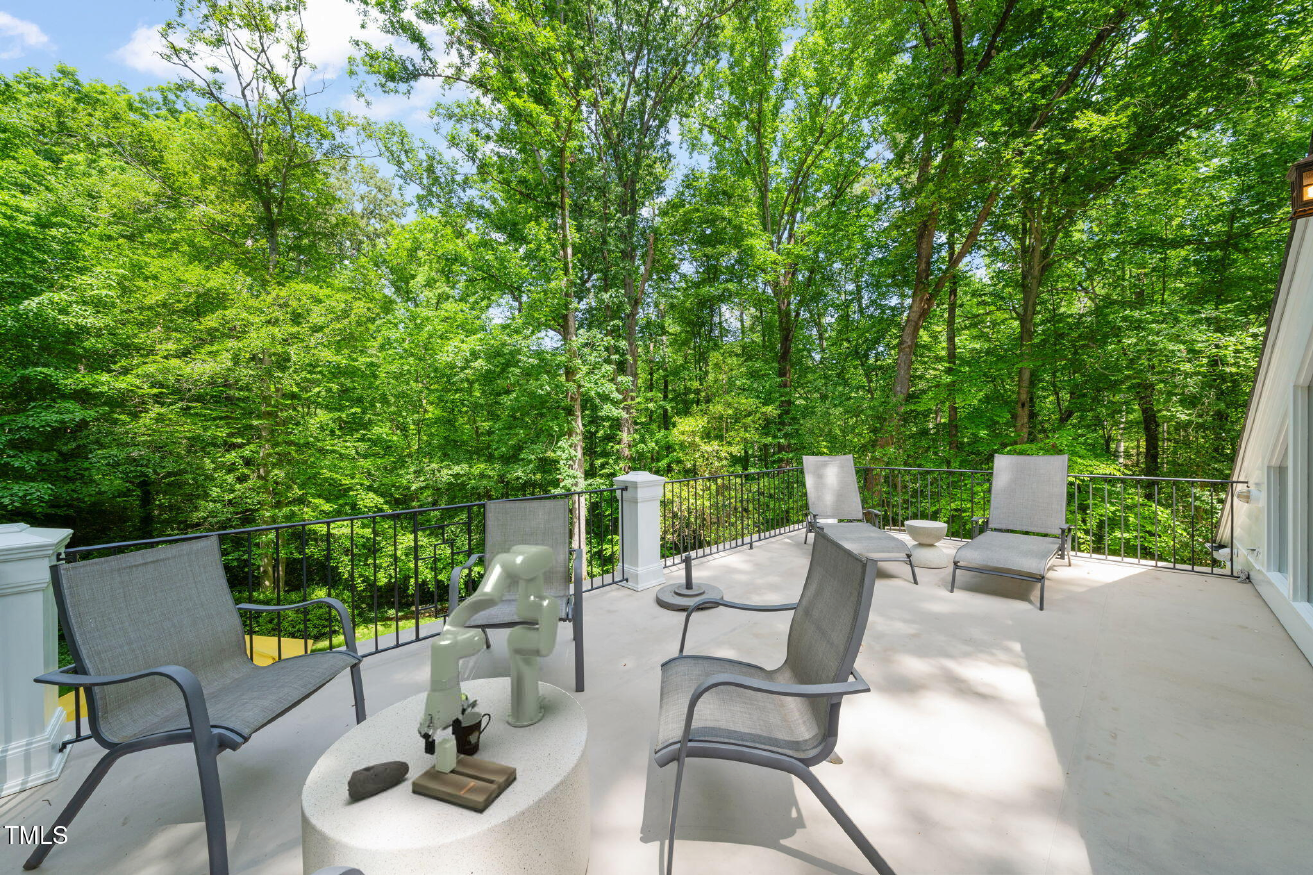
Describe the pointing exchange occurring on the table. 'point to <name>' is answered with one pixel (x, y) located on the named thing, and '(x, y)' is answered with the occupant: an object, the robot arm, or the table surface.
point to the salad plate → (468, 708)
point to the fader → (445, 755)
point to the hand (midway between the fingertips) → (443, 744)
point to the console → (466, 783)
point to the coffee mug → (470, 733)
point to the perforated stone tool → (376, 778)
